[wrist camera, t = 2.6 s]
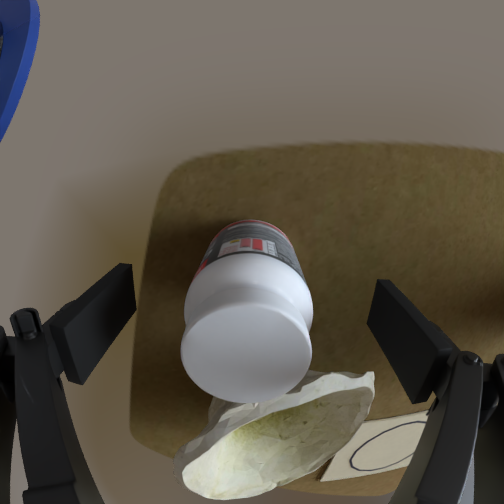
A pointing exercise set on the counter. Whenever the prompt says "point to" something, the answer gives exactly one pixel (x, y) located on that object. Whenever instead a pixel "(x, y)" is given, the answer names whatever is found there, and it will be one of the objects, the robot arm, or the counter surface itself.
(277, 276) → the pill bottle
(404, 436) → the beige flat square sheet
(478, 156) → the counter surface
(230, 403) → the bowl
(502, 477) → the robot arm
